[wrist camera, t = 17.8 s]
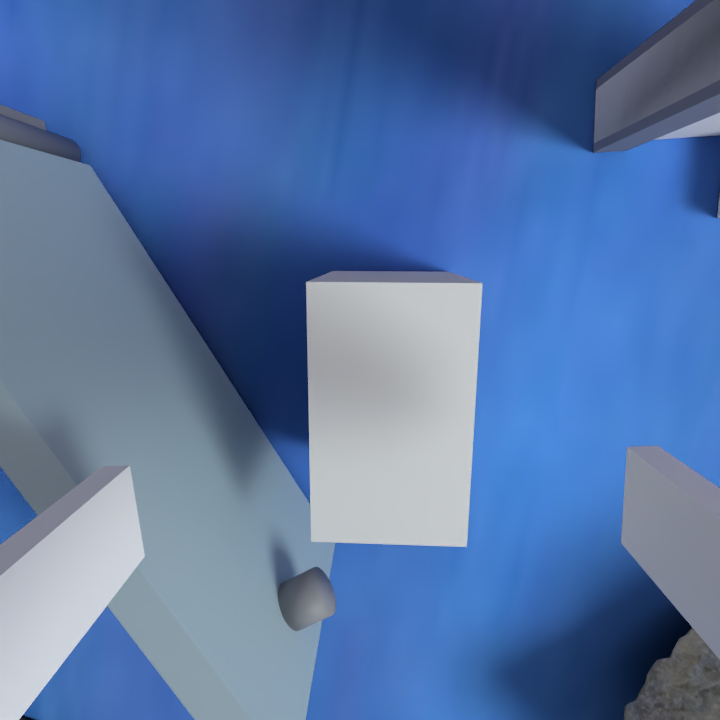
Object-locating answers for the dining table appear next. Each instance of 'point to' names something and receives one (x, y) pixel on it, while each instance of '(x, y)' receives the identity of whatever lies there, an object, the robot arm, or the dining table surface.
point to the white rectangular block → (391, 405)
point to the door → (151, 443)
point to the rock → (680, 685)
